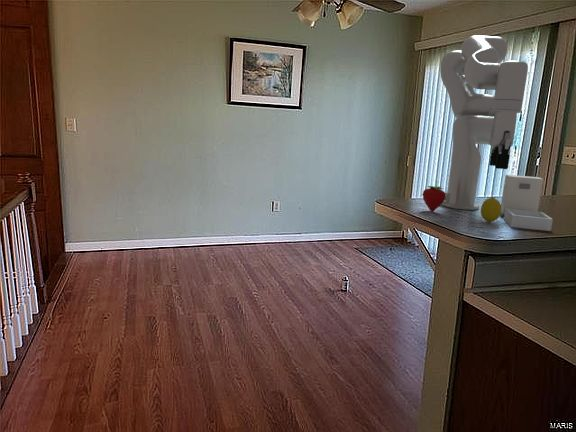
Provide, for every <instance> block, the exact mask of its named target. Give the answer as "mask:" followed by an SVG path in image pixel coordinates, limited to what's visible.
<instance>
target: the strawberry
mask: <svg viewBox="0 0 576 432" xmlns="http://www.w3.org/2000/svg"><path fill="white" fill-rule="evenodd" d="M438 183H439V181H438V180H437V181H436V184H438ZM426 187H428V188H426V189H424V190H423V191H422V198H423V201H424V203H425V205H426V206H427V209H429V211H430V212H435V211H436V210H437V209H438V208H439V207H440V206H442V205H441V204H442V203H443V202H444V199H445V197H446V195H445V192H446V191H444V190H443V188H442V187H441V186H438V185H436V186H433V185H427V186H426Z"/></svg>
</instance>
